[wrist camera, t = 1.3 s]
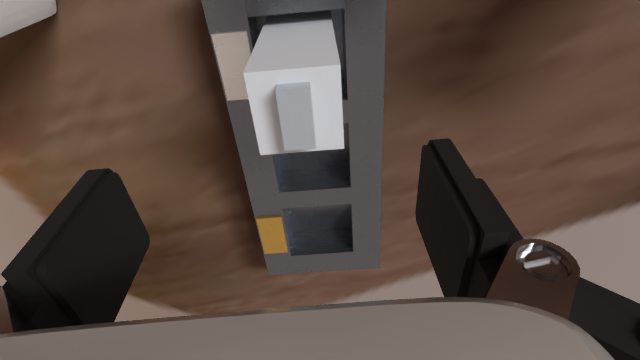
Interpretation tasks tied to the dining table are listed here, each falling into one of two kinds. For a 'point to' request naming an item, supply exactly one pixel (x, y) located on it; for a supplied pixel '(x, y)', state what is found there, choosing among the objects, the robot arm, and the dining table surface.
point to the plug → (296, 85)
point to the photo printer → (23, 13)
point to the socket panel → (313, 166)
